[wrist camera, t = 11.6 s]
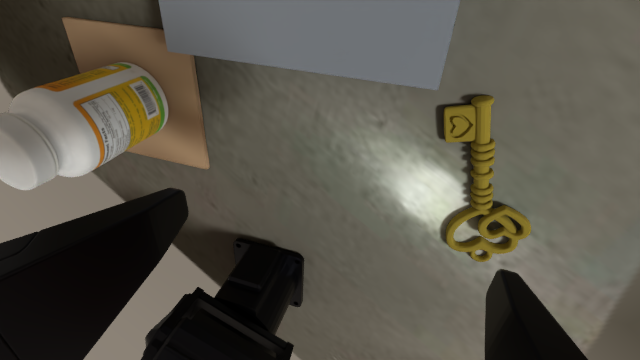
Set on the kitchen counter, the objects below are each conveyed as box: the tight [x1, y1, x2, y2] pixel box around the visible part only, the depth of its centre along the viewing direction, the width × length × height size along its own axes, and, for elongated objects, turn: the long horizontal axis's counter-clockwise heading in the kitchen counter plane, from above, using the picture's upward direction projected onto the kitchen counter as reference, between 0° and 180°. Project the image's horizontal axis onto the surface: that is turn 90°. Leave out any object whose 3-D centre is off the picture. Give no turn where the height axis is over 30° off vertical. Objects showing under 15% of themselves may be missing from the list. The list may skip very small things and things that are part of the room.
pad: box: [62, 17, 210, 169], centre depth 26 cm, size 10×10×1 cm
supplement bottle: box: [0, 62, 168, 190], centre depth 21 cm, size 5×5×10 cm
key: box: [444, 95, 531, 262], centre depth 21 cm, size 12×1×5 cm
